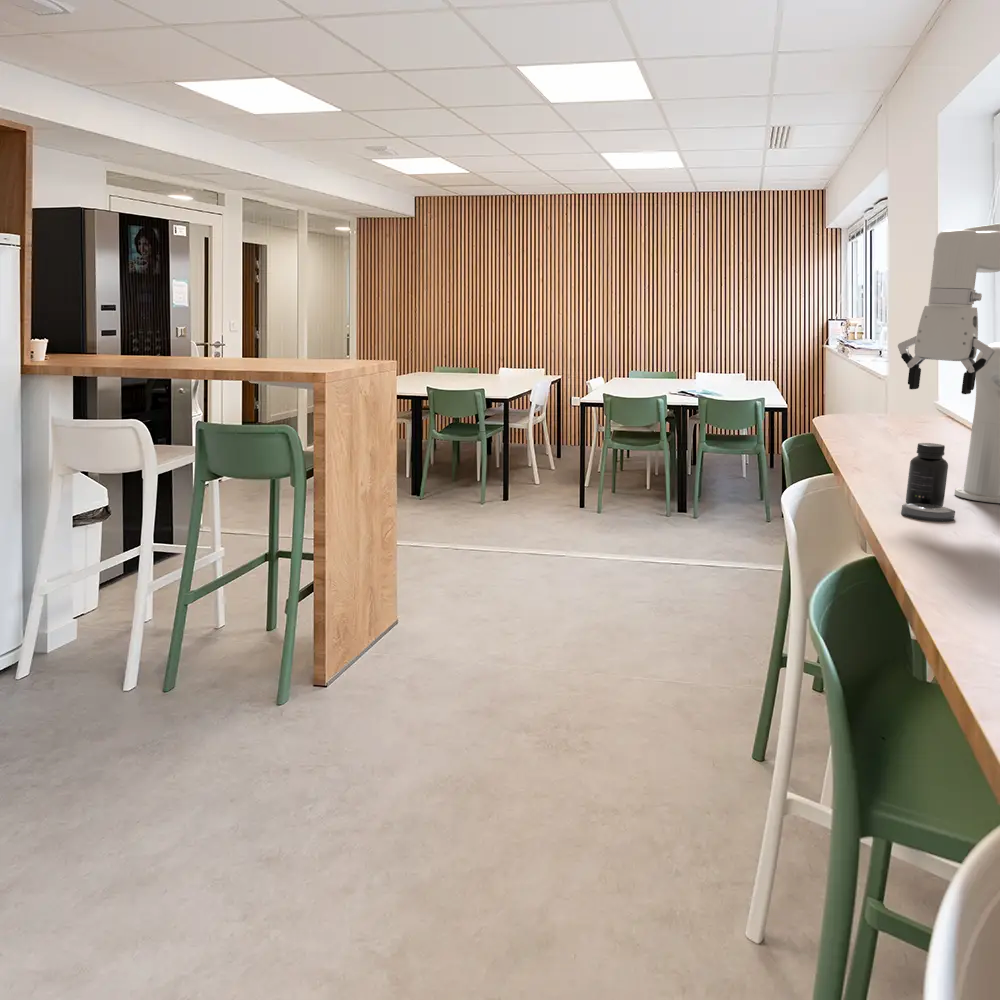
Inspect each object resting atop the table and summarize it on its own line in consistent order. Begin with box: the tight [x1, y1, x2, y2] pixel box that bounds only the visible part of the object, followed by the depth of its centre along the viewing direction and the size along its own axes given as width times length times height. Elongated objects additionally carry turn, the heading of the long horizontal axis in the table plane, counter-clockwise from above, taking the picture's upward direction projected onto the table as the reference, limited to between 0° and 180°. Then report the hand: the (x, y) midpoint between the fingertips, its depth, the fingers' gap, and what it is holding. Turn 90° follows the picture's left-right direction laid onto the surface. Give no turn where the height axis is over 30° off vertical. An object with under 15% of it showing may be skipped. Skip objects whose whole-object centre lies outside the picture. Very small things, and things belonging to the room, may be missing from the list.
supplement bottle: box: [905, 442, 949, 507], centre depth 195 cm, size 7×7×12 cm
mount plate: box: [900, 503, 956, 523], centre depth 186 cm, size 9×9×2 cm
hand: (939, 391), depth 191 cm, fingers open, 9 cm apart
